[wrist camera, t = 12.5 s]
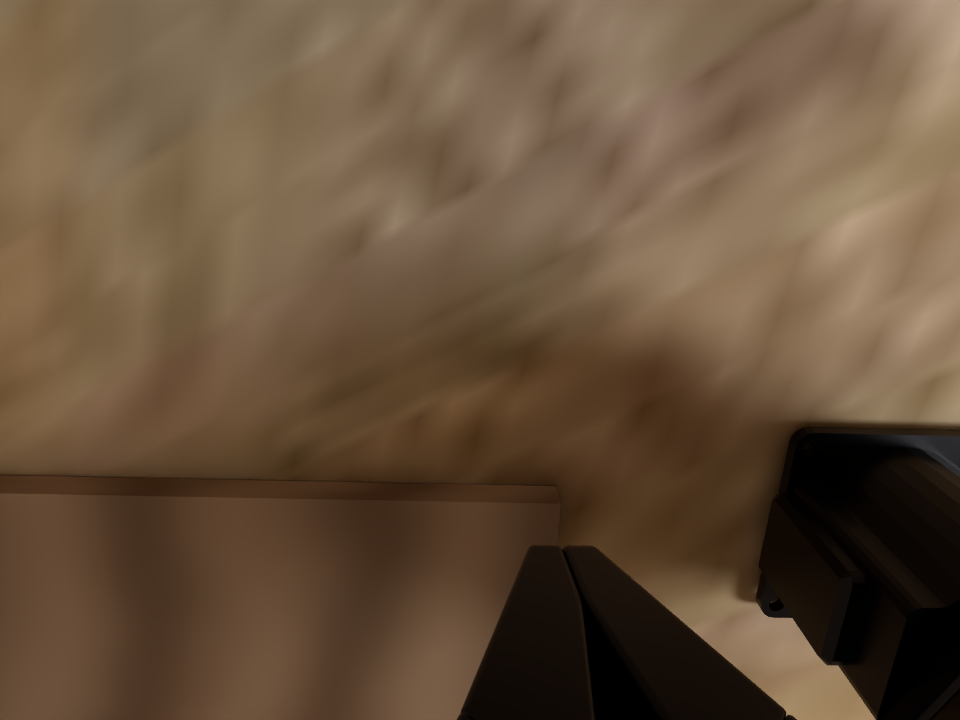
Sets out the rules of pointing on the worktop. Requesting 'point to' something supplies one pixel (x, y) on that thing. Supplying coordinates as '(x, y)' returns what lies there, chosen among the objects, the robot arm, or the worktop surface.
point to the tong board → (254, 595)
